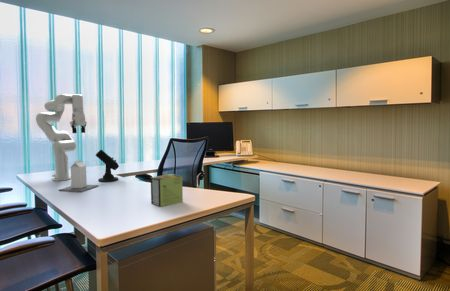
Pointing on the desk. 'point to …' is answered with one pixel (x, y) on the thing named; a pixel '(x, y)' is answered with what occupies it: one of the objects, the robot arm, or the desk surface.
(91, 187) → the rubber mat
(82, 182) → the milk carton
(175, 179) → the protein box
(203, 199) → the desk surface
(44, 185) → the desk surface
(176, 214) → the desk surface
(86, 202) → the desk surface
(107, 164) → the microphone
